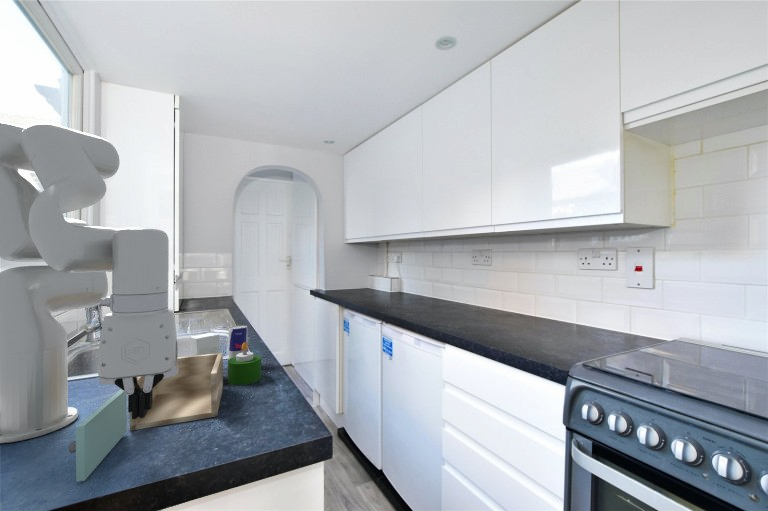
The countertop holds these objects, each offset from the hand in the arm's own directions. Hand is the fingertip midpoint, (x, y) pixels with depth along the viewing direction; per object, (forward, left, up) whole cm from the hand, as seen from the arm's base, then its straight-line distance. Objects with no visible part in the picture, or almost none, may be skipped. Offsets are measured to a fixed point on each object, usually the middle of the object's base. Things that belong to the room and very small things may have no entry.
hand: (140, 414), depth 56 cm
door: (-6, +3, -7) cm, 10 cm away
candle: (+15, +33, -8) cm, 37 cm away
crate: (+3, +20, -7) cm, 21 cm away
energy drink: (+13, +45, -7) cm, 47 cm away
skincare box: (+5, +37, -7) cm, 38 cm away
